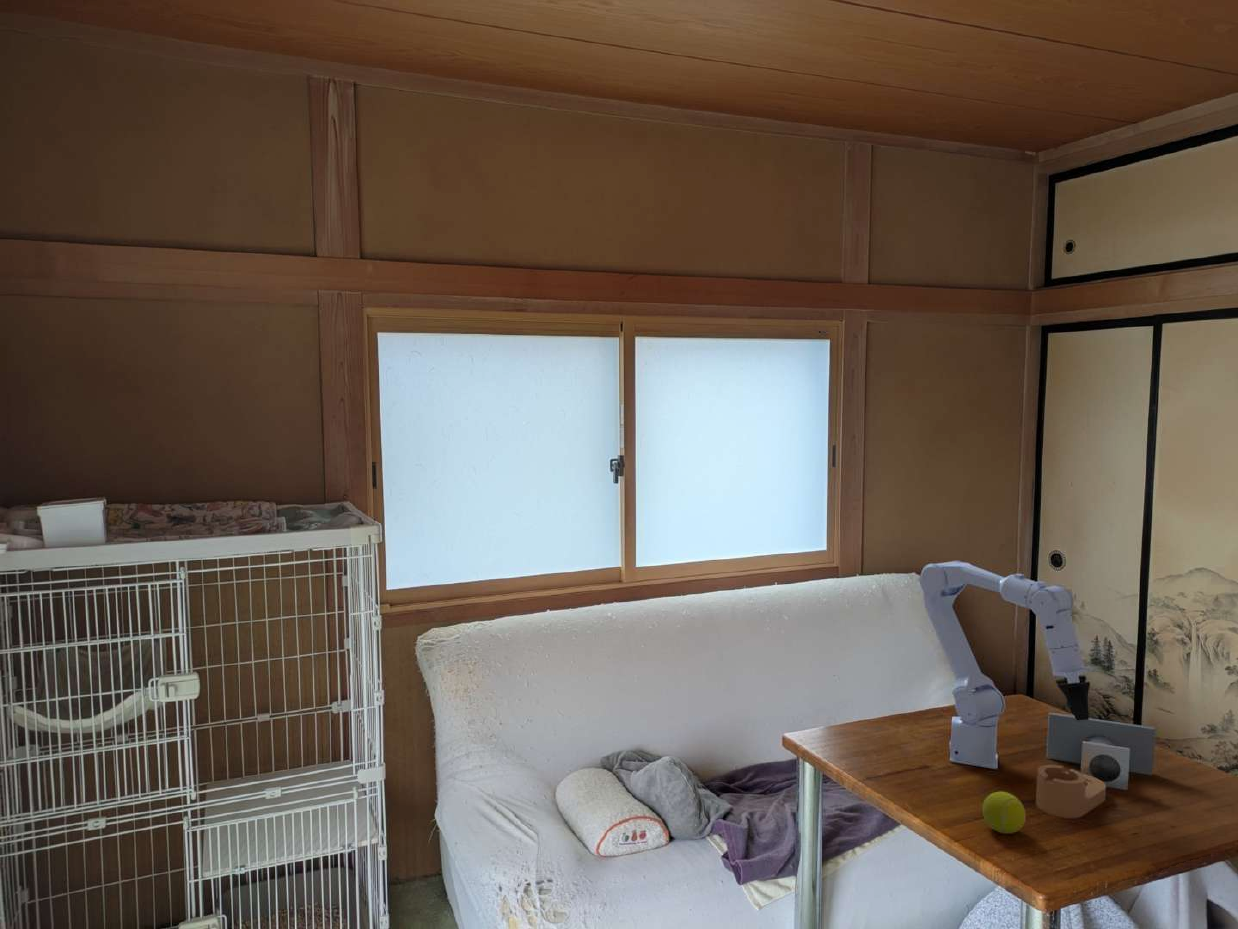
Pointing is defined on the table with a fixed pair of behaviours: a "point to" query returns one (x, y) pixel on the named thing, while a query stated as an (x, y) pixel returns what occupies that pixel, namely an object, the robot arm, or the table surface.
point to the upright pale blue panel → (1102, 747)
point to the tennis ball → (1004, 812)
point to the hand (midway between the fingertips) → (1081, 717)
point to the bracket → (1067, 792)
